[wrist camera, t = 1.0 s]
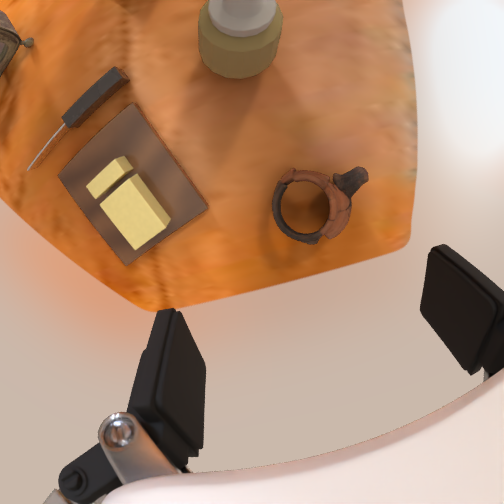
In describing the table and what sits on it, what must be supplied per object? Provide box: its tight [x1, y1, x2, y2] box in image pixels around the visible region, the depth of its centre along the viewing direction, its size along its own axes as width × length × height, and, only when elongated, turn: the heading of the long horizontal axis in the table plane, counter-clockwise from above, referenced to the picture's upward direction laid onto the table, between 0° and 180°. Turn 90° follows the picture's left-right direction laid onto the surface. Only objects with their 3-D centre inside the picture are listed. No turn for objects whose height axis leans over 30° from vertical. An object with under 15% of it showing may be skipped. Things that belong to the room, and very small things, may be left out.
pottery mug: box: [272, 167, 368, 244], centre depth 31 cm, size 12×10×8 cm
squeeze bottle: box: [198, 0, 283, 79], centre depth 17 cm, size 8×8×18 cm
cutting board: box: [58, 102, 209, 266], centre depth 31 cm, size 16×14×1 cm
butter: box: [100, 174, 171, 250], centre depth 30 cm, size 7×5×3 cm
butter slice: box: [86, 156, 133, 199], centre depth 28 cm, size 2×5×3 cm, turn 122°
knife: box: [27, 66, 130, 171], centre depth 26 cm, size 2×18×3 cm, turn 122°
